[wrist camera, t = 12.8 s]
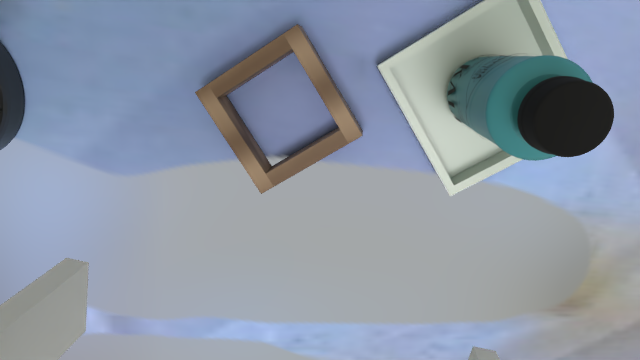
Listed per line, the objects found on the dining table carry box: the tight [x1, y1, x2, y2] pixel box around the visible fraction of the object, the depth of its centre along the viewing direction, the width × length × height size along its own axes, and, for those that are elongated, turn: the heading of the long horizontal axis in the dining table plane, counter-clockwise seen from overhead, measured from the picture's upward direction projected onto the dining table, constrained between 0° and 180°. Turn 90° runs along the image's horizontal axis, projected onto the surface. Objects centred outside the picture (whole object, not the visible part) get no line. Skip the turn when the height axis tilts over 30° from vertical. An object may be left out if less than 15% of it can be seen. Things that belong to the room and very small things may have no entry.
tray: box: [377, 0, 567, 196], centre depth 39 cm, size 14×14×3 cm
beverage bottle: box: [446, 53, 614, 160], centre depth 31 cm, size 6×7×20 cm
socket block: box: [195, 24, 363, 194], centre depth 42 cm, size 12×12×3 cm
